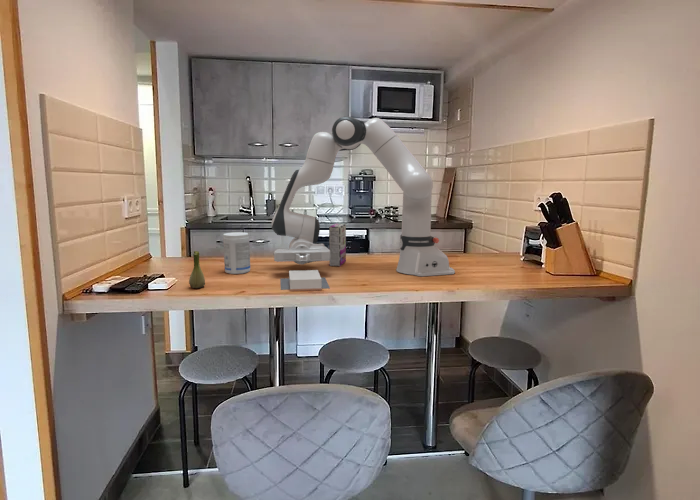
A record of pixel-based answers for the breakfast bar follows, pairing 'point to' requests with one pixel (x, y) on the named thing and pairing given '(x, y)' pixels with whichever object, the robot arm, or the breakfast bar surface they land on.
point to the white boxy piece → (305, 280)
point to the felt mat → (286, 285)
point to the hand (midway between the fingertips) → (303, 258)
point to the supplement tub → (236, 252)
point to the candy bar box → (337, 244)
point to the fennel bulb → (196, 273)
